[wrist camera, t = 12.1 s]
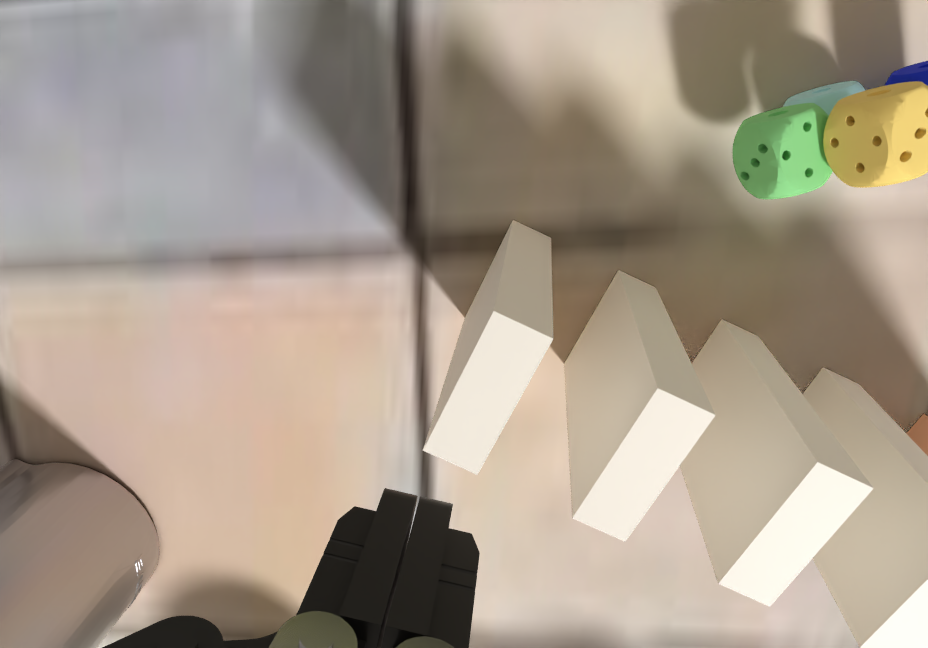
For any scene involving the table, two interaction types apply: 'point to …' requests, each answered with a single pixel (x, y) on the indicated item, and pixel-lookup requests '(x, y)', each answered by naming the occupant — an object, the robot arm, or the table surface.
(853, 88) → the dice
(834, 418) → the domino
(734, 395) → the domino
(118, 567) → the robot arm
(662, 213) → the table surface
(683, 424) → the domino
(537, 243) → the domino
